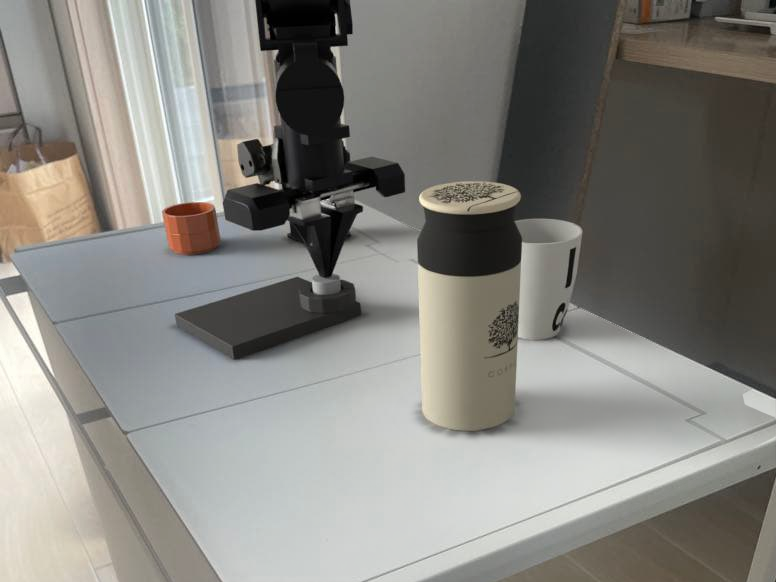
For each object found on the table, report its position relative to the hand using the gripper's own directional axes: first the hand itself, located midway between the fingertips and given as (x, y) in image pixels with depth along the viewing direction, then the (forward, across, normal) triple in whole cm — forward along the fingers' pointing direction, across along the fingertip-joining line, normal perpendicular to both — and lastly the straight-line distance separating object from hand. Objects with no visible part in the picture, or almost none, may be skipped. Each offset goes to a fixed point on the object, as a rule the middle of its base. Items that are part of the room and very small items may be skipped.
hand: (325, 276), depth 89 cm
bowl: (+4, -2, -32) cm, 33 cm away
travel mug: (+4, +4, +26) cm, 27 cm away
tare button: (+2, 0, 0) cm, 2 cm away
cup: (+4, -12, +18) cm, 23 cm away
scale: (+4, +6, -4) cm, 8 cm away
